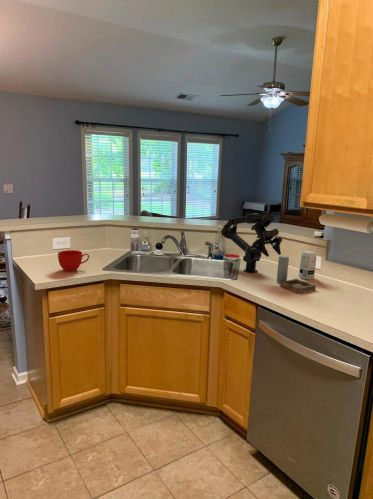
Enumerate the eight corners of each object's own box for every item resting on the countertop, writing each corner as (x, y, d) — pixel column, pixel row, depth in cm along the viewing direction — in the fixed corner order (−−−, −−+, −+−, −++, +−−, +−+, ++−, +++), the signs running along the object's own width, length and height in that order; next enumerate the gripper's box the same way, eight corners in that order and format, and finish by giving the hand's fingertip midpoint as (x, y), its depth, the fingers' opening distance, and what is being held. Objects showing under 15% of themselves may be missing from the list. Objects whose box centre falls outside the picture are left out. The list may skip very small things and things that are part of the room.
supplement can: (298, 275, 212) (300, 250, 208) (313, 276, 210) (315, 251, 207) (299, 279, 204) (302, 253, 201) (314, 280, 202) (317, 254, 199)
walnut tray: (280, 286, 190) (280, 281, 189) (296, 283, 196) (296, 278, 196) (299, 293, 180) (299, 288, 179) (315, 289, 186) (315, 285, 186)
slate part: (278, 280, 200) (281, 255, 197) (287, 282, 197) (290, 257, 194) (274, 282, 196) (277, 257, 193) (284, 284, 193) (286, 258, 190)
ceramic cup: (91, 271, 204) (91, 254, 202) (60, 274, 197) (59, 256, 195) (87, 265, 216) (86, 249, 214) (57, 268, 208) (56, 251, 206)
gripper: (257, 224, 195) (270, 249, 188) (281, 222, 205) (295, 245, 198) (246, 236, 203) (258, 260, 196) (270, 234, 213) (282, 256, 207)
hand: (274, 255), depth 199 cm, fingers open, 9 cm apart
